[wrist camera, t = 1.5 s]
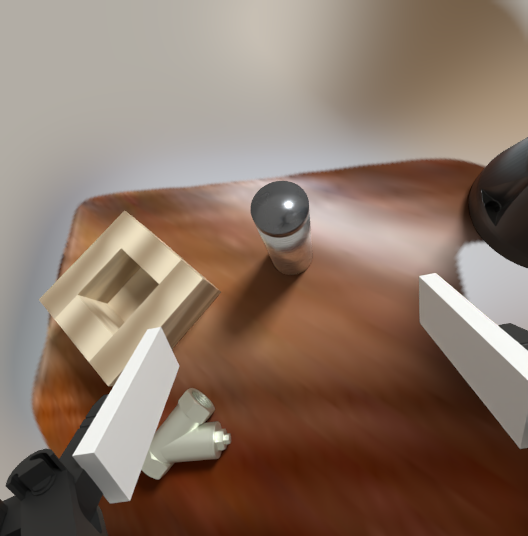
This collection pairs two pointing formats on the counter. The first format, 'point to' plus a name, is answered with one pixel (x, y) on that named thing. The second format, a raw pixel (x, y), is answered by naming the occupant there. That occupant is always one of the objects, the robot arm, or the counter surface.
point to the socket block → (126, 296)
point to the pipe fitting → (186, 436)
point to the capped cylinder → (284, 225)
